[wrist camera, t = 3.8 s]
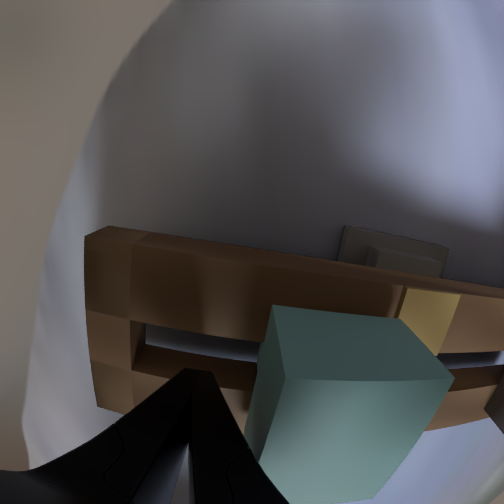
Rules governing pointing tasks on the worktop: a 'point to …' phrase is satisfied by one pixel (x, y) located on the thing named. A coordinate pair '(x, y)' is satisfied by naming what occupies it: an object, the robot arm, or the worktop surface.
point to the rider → (339, 402)
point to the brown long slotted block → (260, 303)
